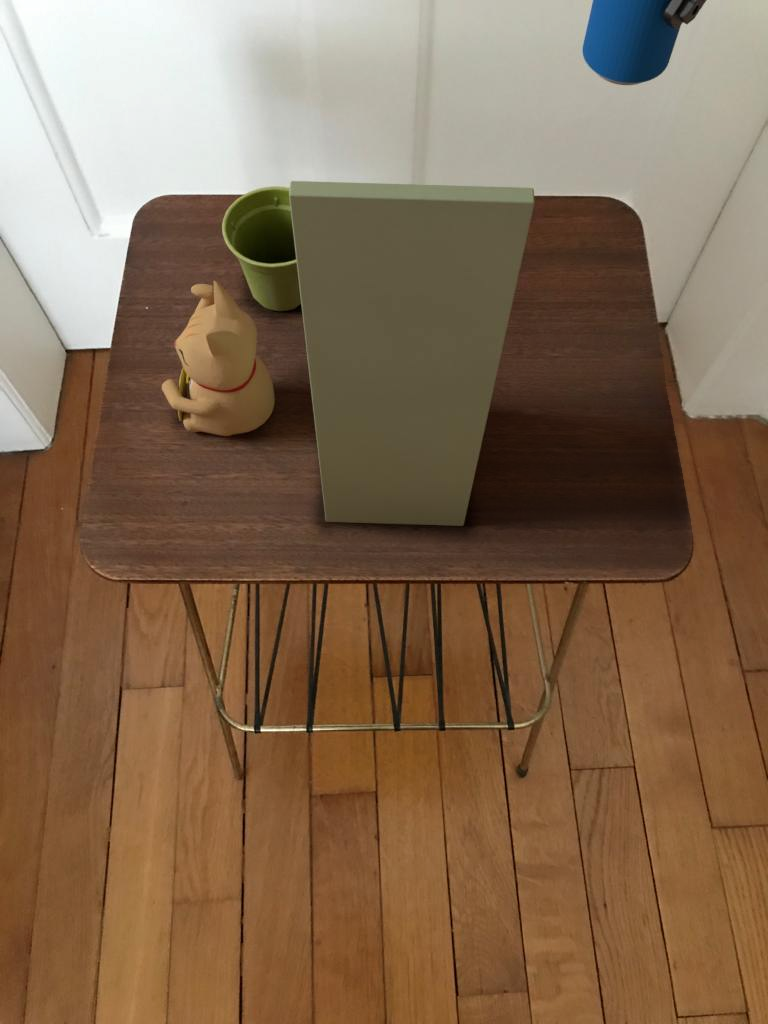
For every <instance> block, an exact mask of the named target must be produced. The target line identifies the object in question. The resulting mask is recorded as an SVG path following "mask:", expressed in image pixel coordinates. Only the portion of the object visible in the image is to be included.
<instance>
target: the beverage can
mask: <svg viewBox="0 0 768 1024" xmlns="http://www.w3.org/2000/svg"><path fill="white" fill-rule="evenodd" d="M671 1H672V0H592V3H591V8H590V13H589V17H588V22H587V26H586V31H585V35H584V40H583V44H582V57H583V60H584V62H585V63H586V65H587V67H588V68H590V70H591V71H592V72H594V73H595V74H596V75H597V76H598V77H600V78H601V79H602V80H604V81H606V82H609V83H611V84H615V85H619V86H634V85H635V86H636V85H639V84H642V83H646V82H649V81H652V80H654V79H656V78H657V77H659V76H660V75H662V74H663V72H665V70H666V69H667V67H668V66H669V63H670V60H671V57H672V54H673V51H674V48H675V44H676V42H677V38H678V35H679V32H680V29H681V26H680V27H679V28H678V29H676V30H675V29H674V28H672V27H670V26H669V25H667V23H666V22H665V21H664V19H663V14H664V12H665V10H666V8H667V7H668V5H669V4H670V2H671Z"/></svg>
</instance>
